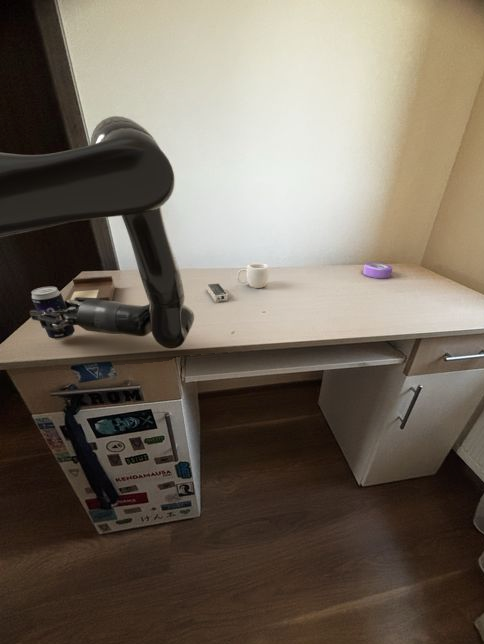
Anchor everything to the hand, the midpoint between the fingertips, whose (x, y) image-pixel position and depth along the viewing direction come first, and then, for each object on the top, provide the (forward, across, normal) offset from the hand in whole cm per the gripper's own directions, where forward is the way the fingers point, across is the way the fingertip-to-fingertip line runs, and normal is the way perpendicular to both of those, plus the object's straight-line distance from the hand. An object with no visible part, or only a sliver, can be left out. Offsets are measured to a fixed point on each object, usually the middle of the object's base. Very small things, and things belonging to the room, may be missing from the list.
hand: (43, 309), depth 67 cm
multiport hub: (-30, -38, +8) cm, 49 cm away
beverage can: (-2, 0, +7) cm, 8 cm away
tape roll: (-91, -80, +8) cm, 121 cm away
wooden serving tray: (+8, -25, +8) cm, 28 cm away
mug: (-40, -51, +8) cm, 65 cm away
